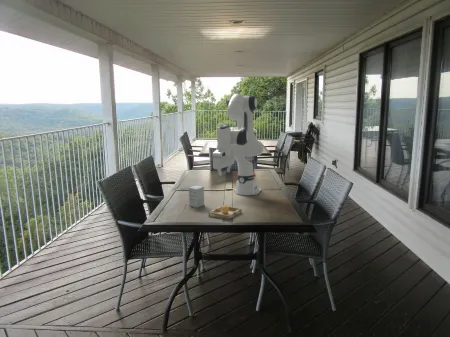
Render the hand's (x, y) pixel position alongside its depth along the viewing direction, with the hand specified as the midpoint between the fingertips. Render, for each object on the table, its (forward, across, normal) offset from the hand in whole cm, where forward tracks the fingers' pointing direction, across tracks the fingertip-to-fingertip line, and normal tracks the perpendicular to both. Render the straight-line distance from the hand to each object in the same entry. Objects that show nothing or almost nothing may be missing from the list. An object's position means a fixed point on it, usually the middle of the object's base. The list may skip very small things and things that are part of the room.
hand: (224, 173), depth 217 cm
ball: (+21, +6, +4) cm, 22 cm away
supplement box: (+25, 0, -22) cm, 33 cm away
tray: (+24, +7, +4) cm, 25 cm away
